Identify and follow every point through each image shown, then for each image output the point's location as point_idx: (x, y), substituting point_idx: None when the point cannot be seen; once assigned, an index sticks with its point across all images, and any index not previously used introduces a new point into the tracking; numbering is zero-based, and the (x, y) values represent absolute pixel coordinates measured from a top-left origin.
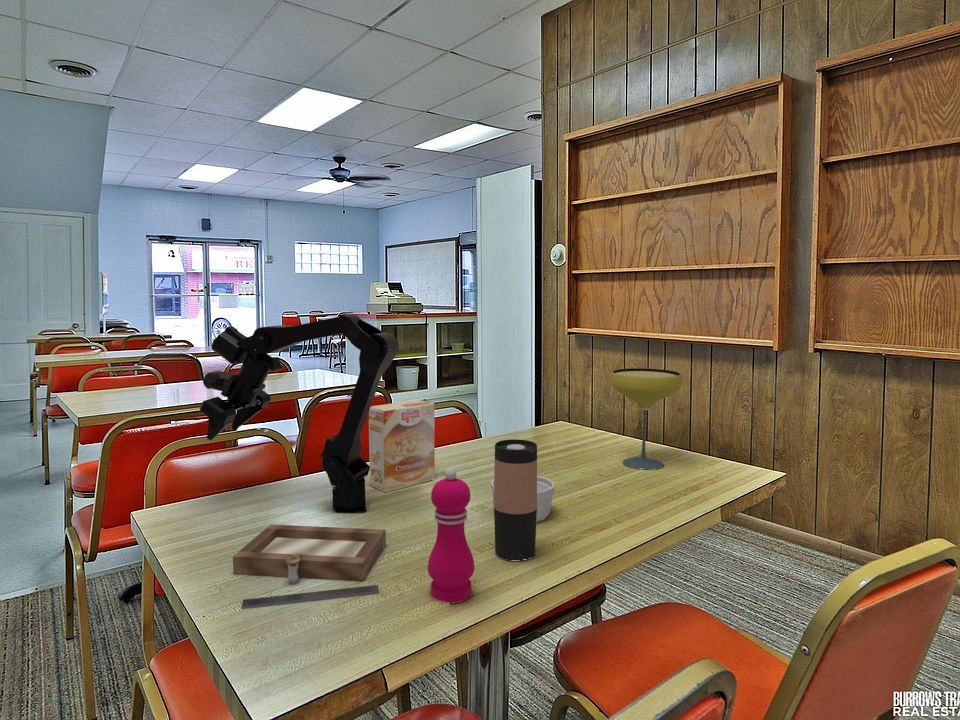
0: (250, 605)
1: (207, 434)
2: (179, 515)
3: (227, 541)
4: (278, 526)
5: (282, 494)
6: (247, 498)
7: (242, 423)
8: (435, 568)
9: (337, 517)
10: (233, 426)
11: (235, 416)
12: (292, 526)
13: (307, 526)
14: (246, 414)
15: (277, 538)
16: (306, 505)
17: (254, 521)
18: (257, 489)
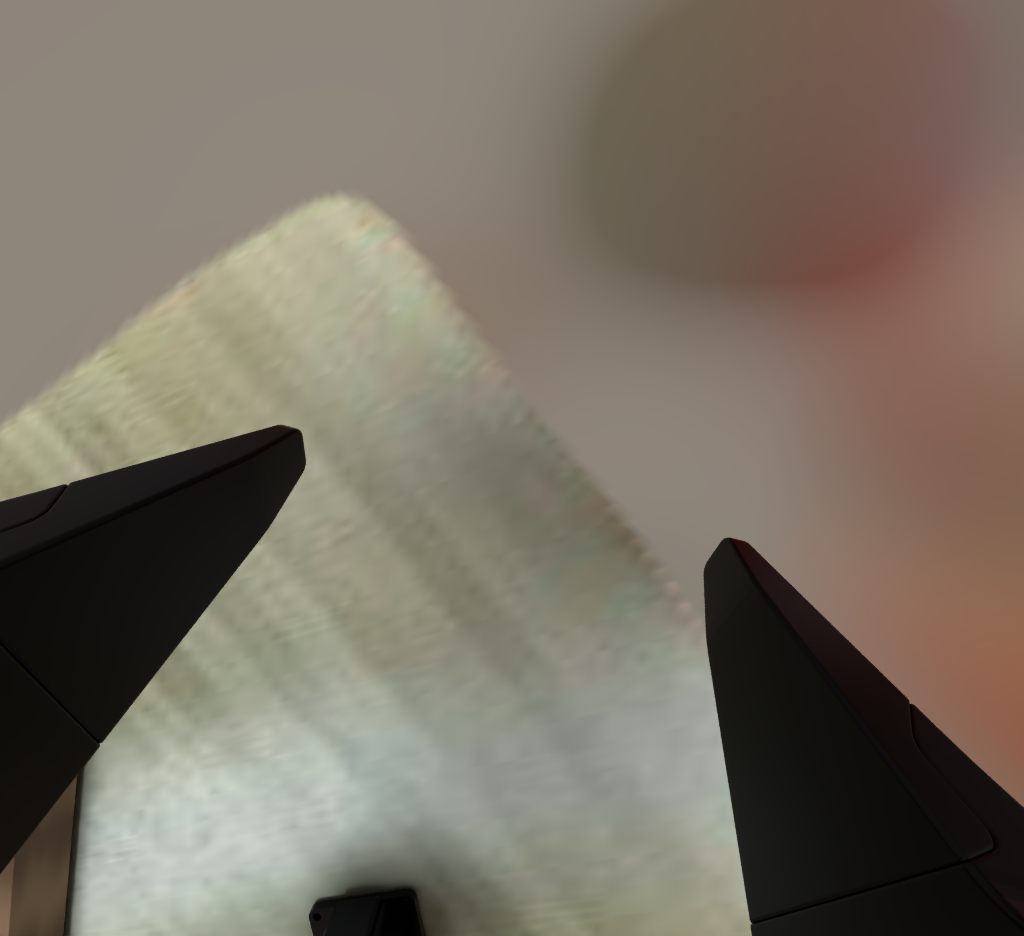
0: None
1: (233, 441)
2: (316, 359)
3: None
4: None
5: (538, 674)
6: (497, 553)
7: (716, 701)
8: None
9: (290, 908)
10: (724, 566)
11: (807, 657)
12: (4, 873)
13: (6, 921)
14: (787, 875)
15: None
16: (410, 788)
17: (255, 649)
18: (608, 559)
